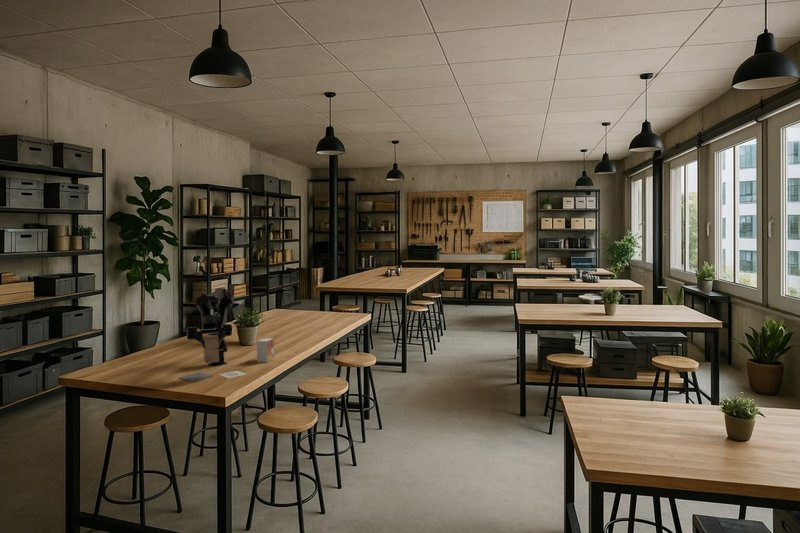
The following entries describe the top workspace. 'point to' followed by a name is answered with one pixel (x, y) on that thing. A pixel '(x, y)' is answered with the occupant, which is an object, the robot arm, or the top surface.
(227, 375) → the card
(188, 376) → the rubber mat
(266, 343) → the small box
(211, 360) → the walnut block
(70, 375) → the top surface
